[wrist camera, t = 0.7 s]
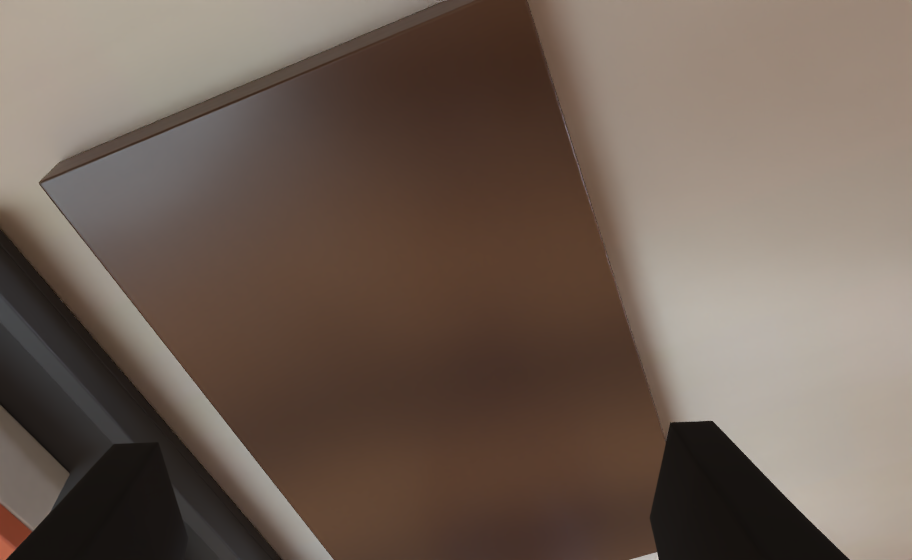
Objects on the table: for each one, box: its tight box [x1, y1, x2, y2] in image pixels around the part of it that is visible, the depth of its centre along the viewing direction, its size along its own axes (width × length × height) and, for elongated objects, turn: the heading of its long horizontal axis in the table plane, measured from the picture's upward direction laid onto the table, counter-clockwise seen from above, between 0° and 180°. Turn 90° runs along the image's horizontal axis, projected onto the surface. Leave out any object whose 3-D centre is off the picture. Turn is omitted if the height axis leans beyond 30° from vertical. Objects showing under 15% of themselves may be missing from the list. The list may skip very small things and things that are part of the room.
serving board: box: [39, 0, 666, 560], centre depth 22 cm, size 20×12×1 cm, turn 21°
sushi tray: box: [0, 230, 281, 560], centre depth 24 cm, size 19×11×2 cm, turn 21°
